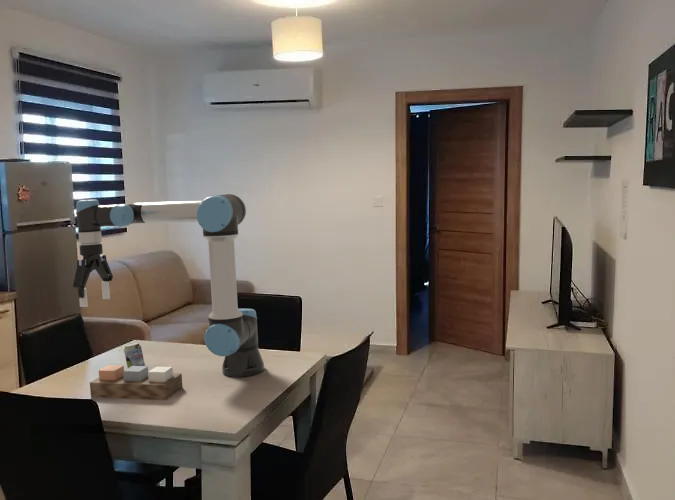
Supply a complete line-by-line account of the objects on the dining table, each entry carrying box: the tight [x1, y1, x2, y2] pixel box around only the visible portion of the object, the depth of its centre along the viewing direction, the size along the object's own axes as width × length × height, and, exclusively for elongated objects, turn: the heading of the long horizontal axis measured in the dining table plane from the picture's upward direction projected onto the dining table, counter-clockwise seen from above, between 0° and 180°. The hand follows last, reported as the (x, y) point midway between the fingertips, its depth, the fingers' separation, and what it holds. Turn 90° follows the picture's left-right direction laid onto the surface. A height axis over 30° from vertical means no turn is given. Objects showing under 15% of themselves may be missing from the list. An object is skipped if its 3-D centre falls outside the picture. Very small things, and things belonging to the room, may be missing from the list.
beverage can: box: [123, 342, 146, 369], centre depth 231 cm, size 6×7×12 cm
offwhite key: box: [148, 366, 174, 382], centre depth 211 cm, size 6×6×4 cm
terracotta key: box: [98, 364, 125, 380], centre depth 215 cm, size 6×6×4 cm
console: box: [89, 372, 184, 401], centre depth 213 cm, size 27×12×5 cm, turn 78°
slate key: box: [123, 365, 149, 381], centre depth 213 cm, size 6×6×4 cm
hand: (95, 302), depth 227 cm, fingers open, 13 cm apart
